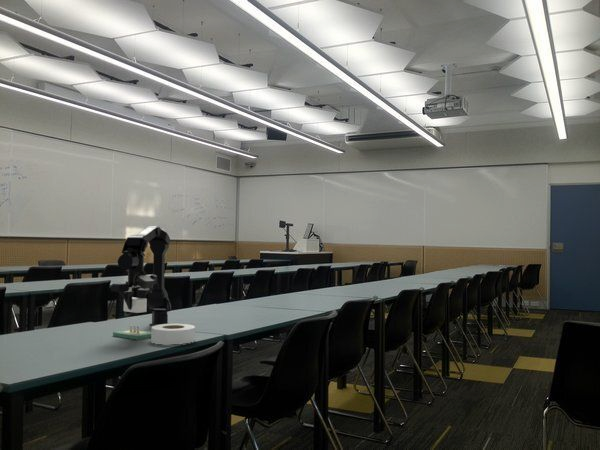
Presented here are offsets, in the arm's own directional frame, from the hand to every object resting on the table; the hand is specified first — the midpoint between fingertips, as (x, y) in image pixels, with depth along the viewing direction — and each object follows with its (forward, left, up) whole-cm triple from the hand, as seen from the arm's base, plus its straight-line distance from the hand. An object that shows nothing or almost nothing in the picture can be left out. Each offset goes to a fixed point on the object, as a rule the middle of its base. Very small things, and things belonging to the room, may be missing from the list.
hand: (135, 308), depth 204 cm
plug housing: (0, 0, -1) cm, 1 cm away
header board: (0, 0, -11) cm, 11 cm away
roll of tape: (+19, +2, -11) cm, 22 cm away
